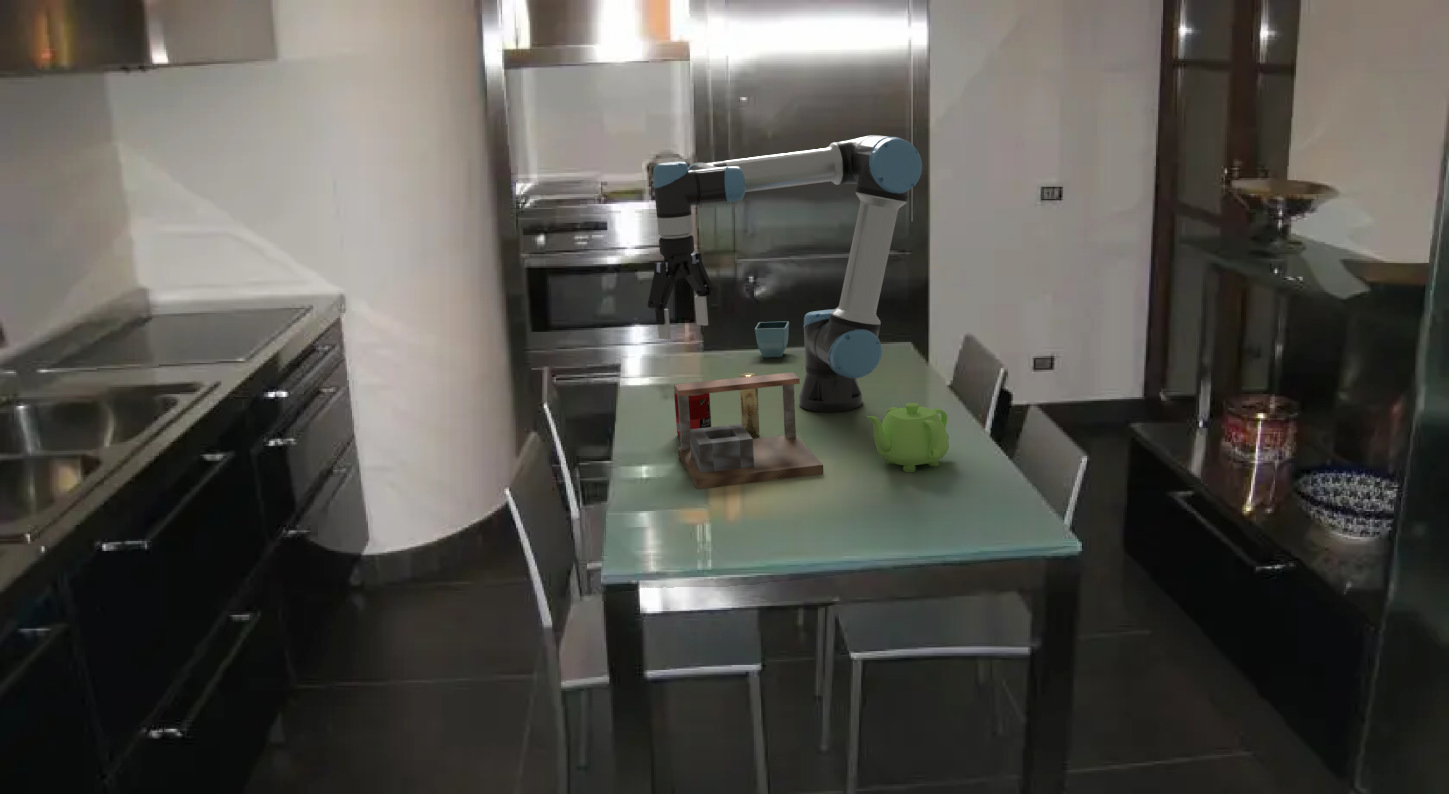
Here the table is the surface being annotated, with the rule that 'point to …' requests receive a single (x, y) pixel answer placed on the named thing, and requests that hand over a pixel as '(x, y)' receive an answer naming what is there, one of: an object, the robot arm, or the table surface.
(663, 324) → the robot arm
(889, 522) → the table surface
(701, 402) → the canned food
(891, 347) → the table surface
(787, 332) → the flower pot
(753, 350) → the table surface
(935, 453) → the teapot
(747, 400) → the peg
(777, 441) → the station
